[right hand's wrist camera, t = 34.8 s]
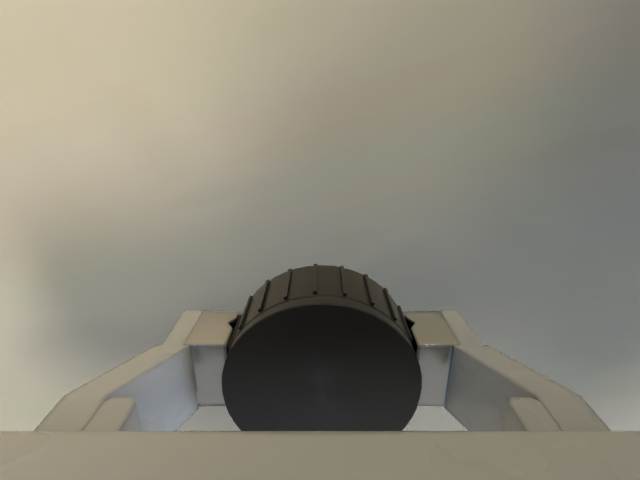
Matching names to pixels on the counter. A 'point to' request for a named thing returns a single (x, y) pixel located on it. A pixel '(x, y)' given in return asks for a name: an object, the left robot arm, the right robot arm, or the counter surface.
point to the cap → (321, 356)
